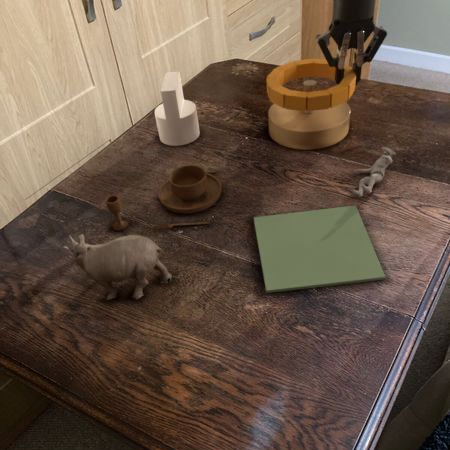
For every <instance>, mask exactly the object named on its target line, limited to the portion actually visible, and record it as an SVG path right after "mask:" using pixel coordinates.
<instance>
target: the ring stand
mask: <svg viewBox="0 0 450 450" xmlns="http://www.w3.org/2000/svg"><path fill="white" fill-rule="evenodd" d="M314 91H317V81H316V80H315V79H306V80H304V81H303V82H302V92H314ZM267 114H268V115H267V117H268V119H267V120H268V134H269V136H270V138H271V139H272V140H273V141H274V142H276V144H278V145H280V146H283V147H285V148H290V149H294V150H304V151H305V150H318V149H324V148H327V147H331V146H333V145H336V144H337V143H339V142H341V141H343V139H345V138H346V136H347V135H348V133H349V129H350V122H351V121H350V119H351V107H350V105H349V104H348V103H347V101H346V102H344V103H342V104H339V105H337V106H335V107H333V108H330V107H329V109H323V110H316V111H307V110H306V111H297V110H289V109H285V108H282V107H280V106H278V105H276V104H274V103H272V104H271V106H270V108H269V109H268V113H267Z"/></svg>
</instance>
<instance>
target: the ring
mask: <svg viewBox="0 0 450 450" xmlns="http://www.w3.org/2000/svg"><path fill="white" fill-rule="evenodd" d="M344 69H345V70H344V78H343V80H342V81H341V82H340V84H338V85H337V84H336V85H333V86H331V87H329V88H327V89H321V90H316V91H314V92H303V90H302V91H300V90H294V89H289V88H288V87H286V86H283V85H284V84H287V83H289V82H291V81H293V80H296V79H301V78H310V77H317V78H328V79H330V80H332V81H335V67H330V66H329V64H328V62H327V60H326V58H306V59H300V60H299V59H298V60H293V61H289V62H287V63H283V64H282V65H280V66H276V67H275V68H273V70H272V71H271V72H270V73H269V74H268V75H267V76H266V92H267V93H266V94H267V97H268V100H269V101H270V103H272V104H276V105H278V106H280V107H282V108H285V109H289V110H297V111H306V110H307V111H316V110H323V109H329V107H330V108H333V107H335V106H337V105H339V104H342V103H344V102H346V103H347V102H348V101H349V100H350V98H351V97H352V96H353V94H354V93H355V91H356V85H355V83H356V75H355V73H354V71H353V70H352V66H351V65H348V64H346V63H344Z"/></svg>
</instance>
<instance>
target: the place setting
mask: <svg viewBox="0 0 450 450" xmlns="http://www.w3.org/2000/svg"><path fill="white" fill-rule="evenodd" d="M211 173H212V174H211ZM213 173H217V170H205V169H204V168H203V167H202V166H199V165H196V164H195V165H193V164H187V165H182V166H179V167H177V168H175V169H174V170H172V171H171V172H170V173H169V175H168V179H167V180H165V181H164V182H163V183H162V184H161V185H160V187H159V189H158V193H157V195H158V199H159V202H160V204H161V205H162V206H163V207H164V208H165V209H167V210H169V211H171V212H174V213H179V214H194V213H198V212H199V213H200V212H202V211H204V210H205V211H206V210H208V209H209V208H210V207H212V206H213V205H215V204H216V203H217V202H218V200H219V199H220V197H221V195H222V184H221V181H220V180H219V178H218V177H216V176H214V175H213ZM104 202H105V204H106V208H107V211H108V212H109V213H110V214H111V215H114V220H115V222H114V223H113V224H112V229H113V230H114V231H117V232H119V231H123V230H126V229H127V228H128V227H129V223H128V221H127V220H124V219H122V217H121V215H120V213H121V211H122V203H121V198H120V196H118V195H117V194H111V195H108V196H107V197H106V198H105V200H104ZM155 224H156V225H155V226H154V227H155V228H160V229H161V228H162V229H172V228H173V227H177V226H179V227H180V226H200V225H201V226H202V225H209V224H210V225H211V222H210V221H201V222H200V221H199V222H179V223H166V222H158V221H155Z"/></svg>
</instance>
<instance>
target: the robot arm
mask: <svg viewBox="0 0 450 450" xmlns="http://www.w3.org/2000/svg"><path fill="white" fill-rule="evenodd" d="M375 9H376V0H332V11H331V23H330V25H329V26H328V30H327V31H326V32H324V33H323V34H321V33H320V34H319V33H318V34H317V35H316V36H315V40H316V42H317V44H318V47H319V49H320V50H321V52H322V54H323V57H324V59H326V60H327V62H328V64H329V66H330V67H335V80H334V81H335V84H336V85H338V84H340V82H341V81H342V80H343V78H344V70H345V69H344V64H346V58H347V56H348V51H349V50H351V49H353V62H352V65H351V68H352V70H353V71H354V73H355V75H356V83H355V86H357V85H358V83H359V82H360V81H361V78H362V68H363V65H364V64H366V63H371V62H372V61H373V60H374V58H375V56H376V54H377V53H378V51H379V49H380V48H381V46H382V44H383V43H384V41H385V39H386V38H387V36H388V32H387V30H386V28H384V27H383V26H378V25H376V22H375ZM370 36H371V37H372V38H371V40H370V41H369V43H368V45H367V46H366V48H365V43H366V41H367V40H368V39H369V38H370ZM330 39H333V41H334V42H335V44H336V49H335V50H336V53H335V57H333V55H332V53H331V51H330V49H329V46H330V45H331V42H330V41H331V40H330Z"/></svg>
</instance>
